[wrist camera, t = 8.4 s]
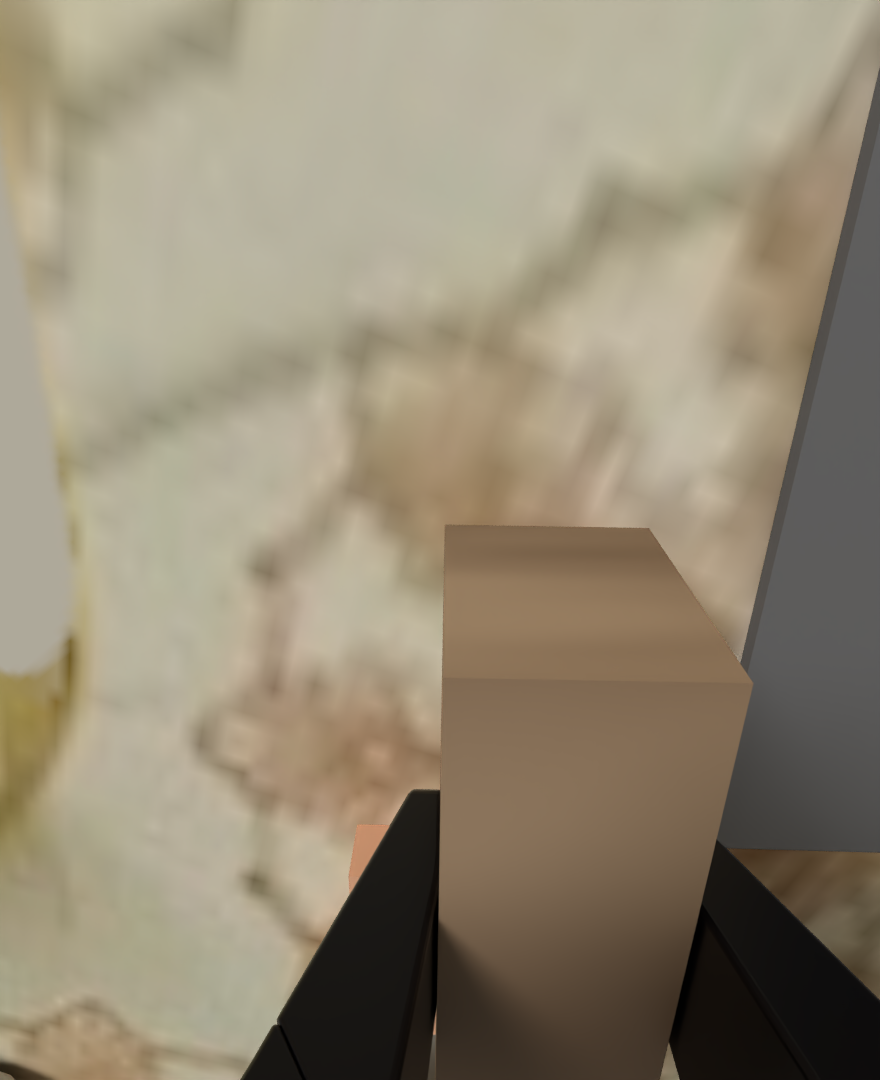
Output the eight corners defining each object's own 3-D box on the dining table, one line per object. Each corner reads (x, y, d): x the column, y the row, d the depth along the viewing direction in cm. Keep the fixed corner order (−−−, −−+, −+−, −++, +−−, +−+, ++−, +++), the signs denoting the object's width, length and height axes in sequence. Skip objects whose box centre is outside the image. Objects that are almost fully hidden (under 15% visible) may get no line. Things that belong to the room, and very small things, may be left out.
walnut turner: (616, 1160, 14) (661, 1401, 11) (372, 1155, 14) (352, 1394, 11) (750, 530, 9) (909, 686, 6) (343, 523, 9) (288, 674, 6)
